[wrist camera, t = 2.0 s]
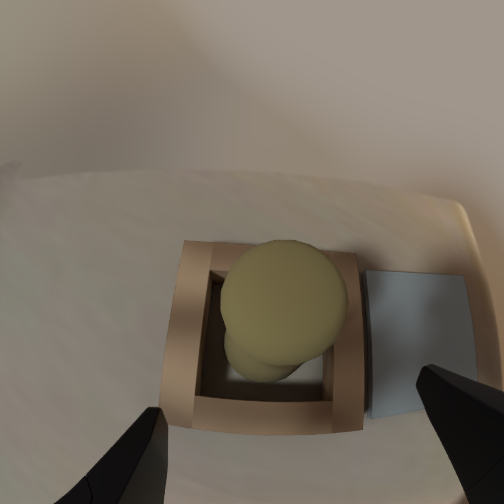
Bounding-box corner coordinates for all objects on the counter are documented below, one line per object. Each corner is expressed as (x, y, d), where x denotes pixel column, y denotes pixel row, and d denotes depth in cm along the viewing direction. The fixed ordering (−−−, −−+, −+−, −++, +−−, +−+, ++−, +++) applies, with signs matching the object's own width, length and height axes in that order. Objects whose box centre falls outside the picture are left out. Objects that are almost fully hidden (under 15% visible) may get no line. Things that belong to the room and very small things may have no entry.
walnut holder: (349, 426, 16) (362, 429, 14) (167, 418, 16) (157, 422, 14) (345, 267, 22) (355, 253, 20) (189, 256, 22) (184, 240, 20)
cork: (206, 342, 19) (169, 285, 9) (263, 288, 21) (283, 192, 12) (267, 400, 17) (299, 410, 7) (322, 340, 19) (396, 282, 10)
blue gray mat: (472, 393, 16) (477, 392, 16) (367, 418, 16) (372, 418, 16) (458, 278, 22) (463, 275, 21) (361, 274, 22) (365, 270, 21)
